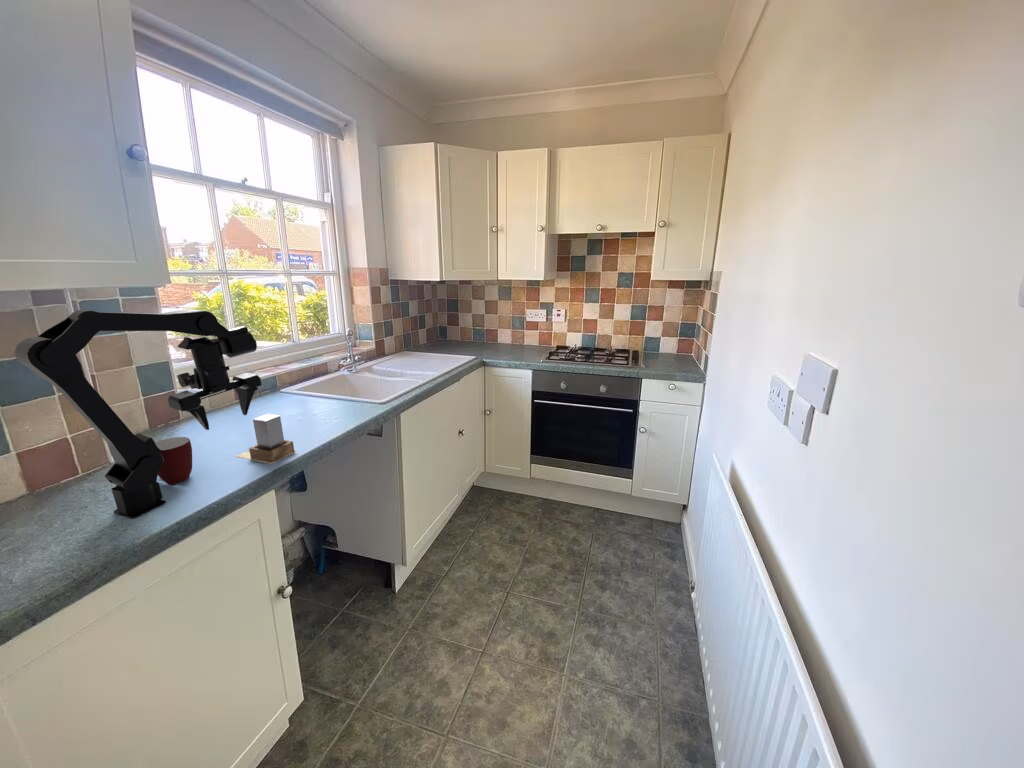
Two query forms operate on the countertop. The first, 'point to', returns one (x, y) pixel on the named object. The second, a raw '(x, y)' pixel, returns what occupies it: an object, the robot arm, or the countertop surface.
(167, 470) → the mug
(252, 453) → the stand
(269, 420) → the post
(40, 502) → the countertop surface
